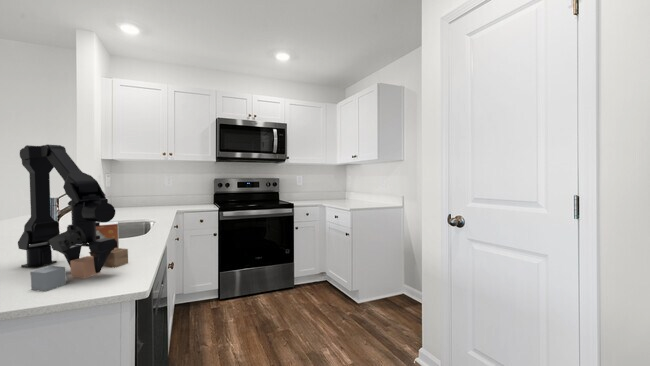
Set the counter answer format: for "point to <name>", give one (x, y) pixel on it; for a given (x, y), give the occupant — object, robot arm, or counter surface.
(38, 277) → the slate cube
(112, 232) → the small box
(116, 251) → the walnut cube
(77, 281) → the counter surface
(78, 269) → the terracotta cube
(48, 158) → the robot arm
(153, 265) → the counter surface
